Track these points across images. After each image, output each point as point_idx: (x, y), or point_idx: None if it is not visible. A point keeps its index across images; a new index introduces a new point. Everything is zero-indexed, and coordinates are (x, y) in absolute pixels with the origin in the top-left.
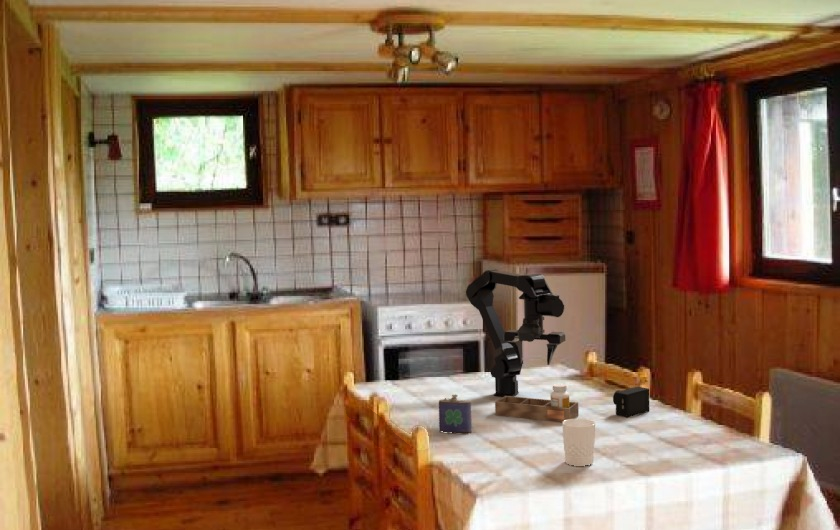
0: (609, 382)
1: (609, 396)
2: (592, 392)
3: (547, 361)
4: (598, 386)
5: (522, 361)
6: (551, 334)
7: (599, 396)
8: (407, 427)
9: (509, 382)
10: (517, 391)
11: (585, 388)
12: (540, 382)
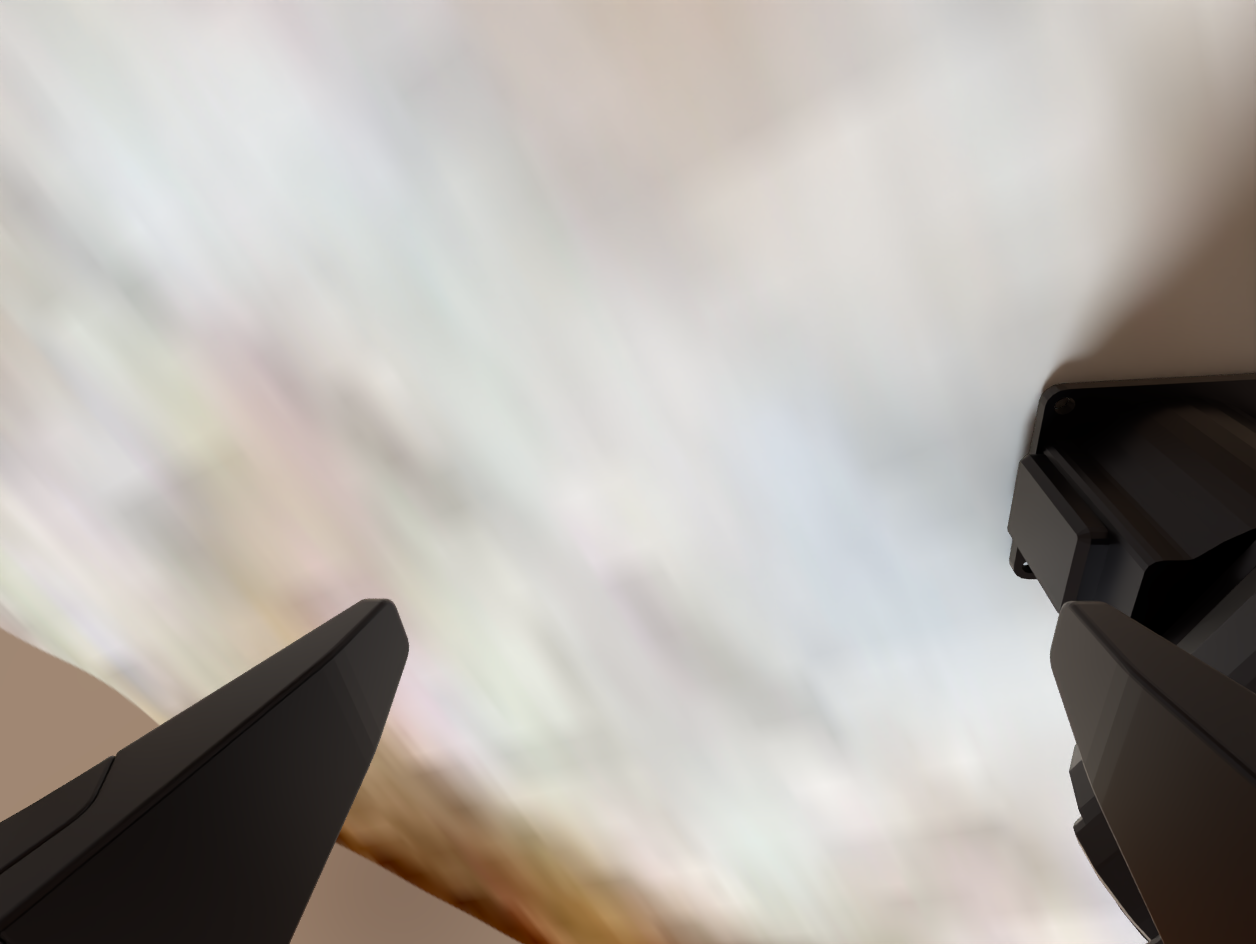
0: (510, 925)
1: None
2: (458, 737)
3: (336, 636)
4: (513, 855)
5: (1100, 857)
6: None
7: None
8: None
9: (1165, 508)
10: (1015, 522)
11: (556, 806)
12: (928, 875)
